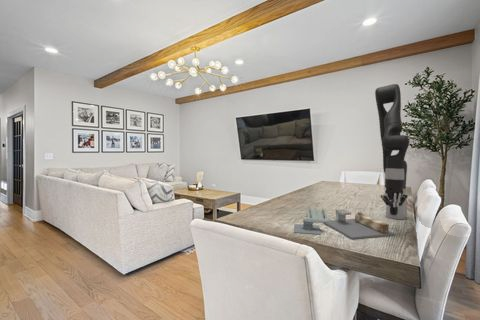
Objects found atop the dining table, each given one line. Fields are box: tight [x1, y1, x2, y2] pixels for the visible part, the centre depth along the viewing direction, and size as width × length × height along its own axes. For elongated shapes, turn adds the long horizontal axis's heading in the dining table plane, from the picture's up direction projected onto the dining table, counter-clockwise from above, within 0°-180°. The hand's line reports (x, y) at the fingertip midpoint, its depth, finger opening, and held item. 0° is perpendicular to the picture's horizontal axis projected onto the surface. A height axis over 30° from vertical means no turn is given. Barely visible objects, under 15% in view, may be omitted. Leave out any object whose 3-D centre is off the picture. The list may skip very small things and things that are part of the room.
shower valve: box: [293, 218, 326, 236], centre depth 114 cm, size 12×6×15 cm
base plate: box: [323, 211, 396, 241], centre depth 114 cm, size 22×24×6 cm
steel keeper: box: [335, 209, 352, 222], centre depth 121 cm, size 4×6×6 cm
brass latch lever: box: [354, 213, 390, 233], centre depth 114 cm, size 19×4×4 cm, turn 10°
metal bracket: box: [303, 207, 333, 221], centre depth 133 cm, size 14×6×15 cm
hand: (393, 214), depth 108 cm, fingers closed
